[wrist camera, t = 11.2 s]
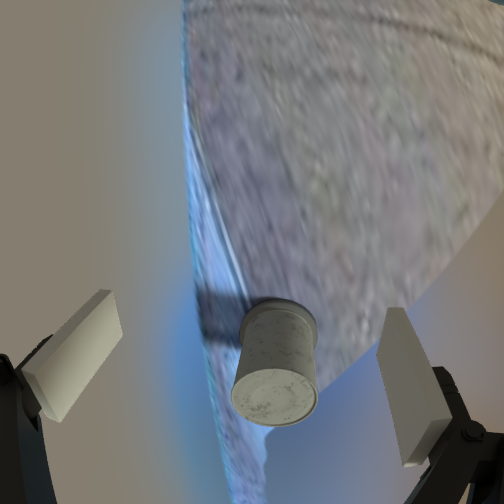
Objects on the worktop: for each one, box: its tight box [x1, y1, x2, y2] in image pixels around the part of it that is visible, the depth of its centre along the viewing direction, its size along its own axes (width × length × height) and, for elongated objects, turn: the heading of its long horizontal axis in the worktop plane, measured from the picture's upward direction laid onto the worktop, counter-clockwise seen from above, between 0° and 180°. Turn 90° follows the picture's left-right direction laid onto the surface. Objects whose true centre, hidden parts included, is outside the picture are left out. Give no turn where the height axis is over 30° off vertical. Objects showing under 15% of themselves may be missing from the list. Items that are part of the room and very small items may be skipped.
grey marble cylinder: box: [231, 309, 318, 427], centre depth 38 cm, size 10×10×12 cm
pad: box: [239, 299, 318, 350], centre depth 45 cm, size 11×11×2 cm
